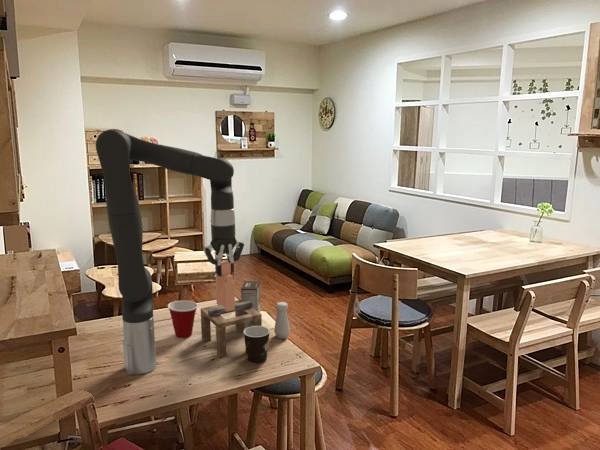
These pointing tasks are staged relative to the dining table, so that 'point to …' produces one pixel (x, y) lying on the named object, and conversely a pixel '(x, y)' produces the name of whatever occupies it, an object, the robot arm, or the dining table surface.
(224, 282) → the stepped pink block
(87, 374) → the dining table surface
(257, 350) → the coffee mug
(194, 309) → the plastic cup
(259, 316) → the square wooden frame
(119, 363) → the dining table surface
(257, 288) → the coffee box
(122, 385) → the dining table surface
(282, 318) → the salt shaker
